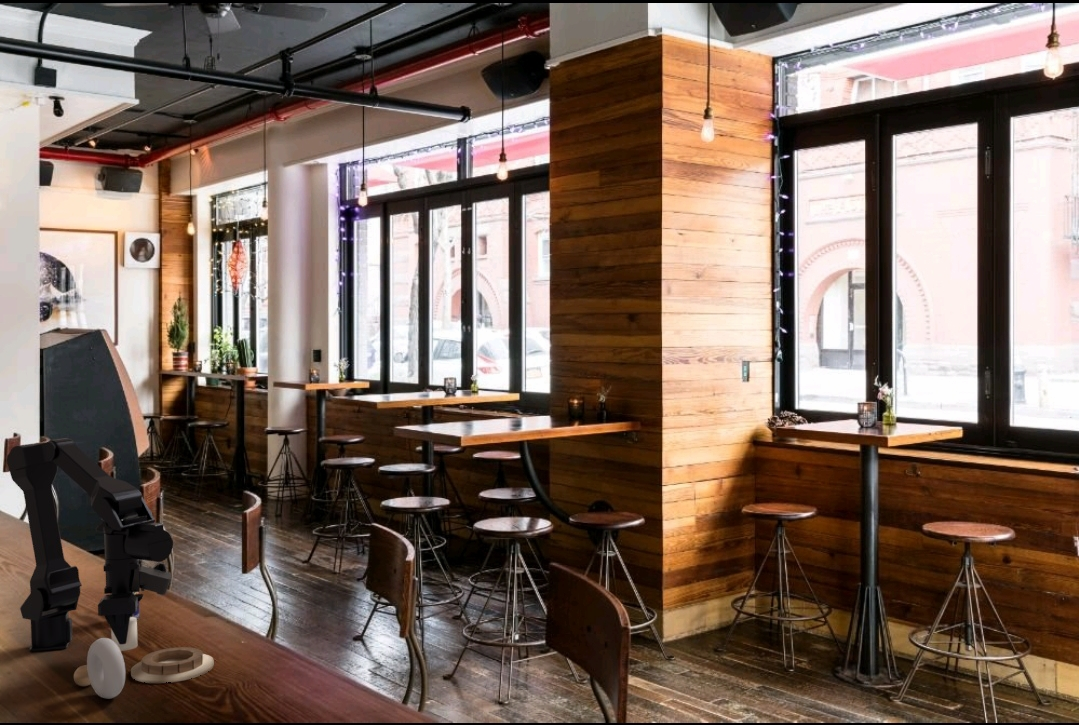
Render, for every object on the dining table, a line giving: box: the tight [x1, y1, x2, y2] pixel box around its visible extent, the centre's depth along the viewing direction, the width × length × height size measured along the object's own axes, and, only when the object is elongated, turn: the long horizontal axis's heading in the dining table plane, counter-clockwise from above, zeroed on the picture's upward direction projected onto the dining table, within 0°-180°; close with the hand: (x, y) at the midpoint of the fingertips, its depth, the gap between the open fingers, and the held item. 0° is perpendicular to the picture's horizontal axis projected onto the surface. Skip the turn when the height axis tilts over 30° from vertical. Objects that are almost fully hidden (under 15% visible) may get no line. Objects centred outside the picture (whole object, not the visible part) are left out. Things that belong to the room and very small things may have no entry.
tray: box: [130, 646, 215, 684], centre depth 185 cm, size 14×14×2 cm
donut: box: [86, 637, 126, 700], centre depth 171 cm, size 10×4×10 cm, turn 46°
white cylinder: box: [110, 617, 138, 652], centre depth 190 cm, size 4×4×5 cm
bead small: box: [73, 664, 91, 687], centre depth 177 cm, size 4×4×4 cm
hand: (124, 640), depth 190 cm, fingers closed on white cylinder, 4 cm apart
